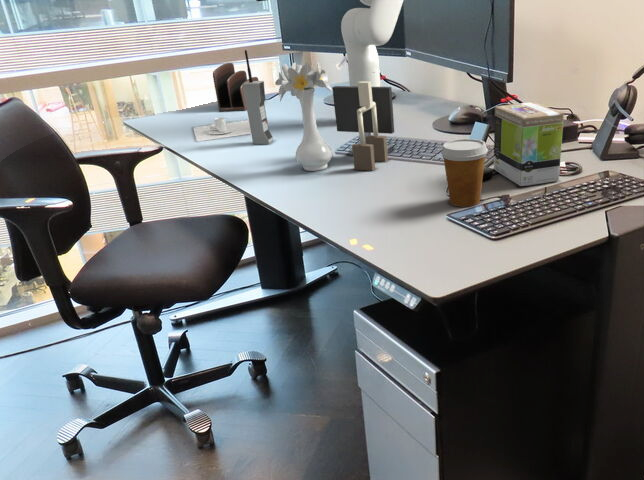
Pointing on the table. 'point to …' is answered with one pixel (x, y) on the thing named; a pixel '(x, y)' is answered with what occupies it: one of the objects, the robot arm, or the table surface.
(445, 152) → the disposable coffee cup
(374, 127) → the headphones
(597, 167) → the table surface
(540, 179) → the tea box
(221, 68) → the letter holder
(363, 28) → the robot arm
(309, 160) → the flower vase
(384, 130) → the monitor
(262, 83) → the vintage mobile phone
